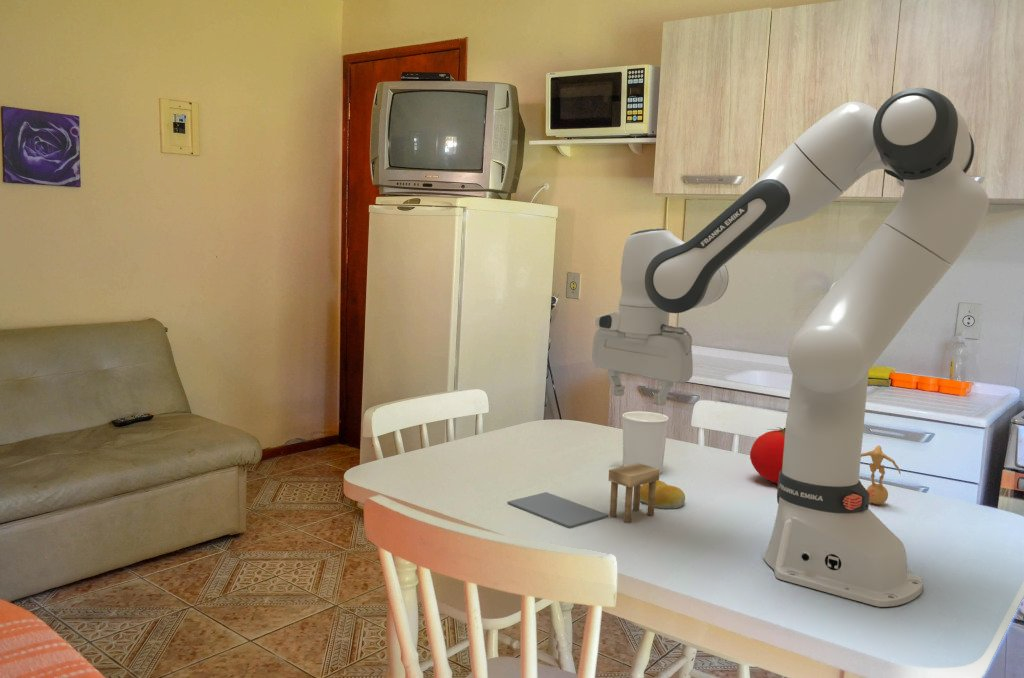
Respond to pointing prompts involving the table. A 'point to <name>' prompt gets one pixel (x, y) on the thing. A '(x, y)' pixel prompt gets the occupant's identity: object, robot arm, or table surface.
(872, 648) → the table surface
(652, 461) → the candle holder
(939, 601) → the table surface
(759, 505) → the table surface
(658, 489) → the bread roll
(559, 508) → the mat
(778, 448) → the tomato
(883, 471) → the figurine
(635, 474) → the stool
